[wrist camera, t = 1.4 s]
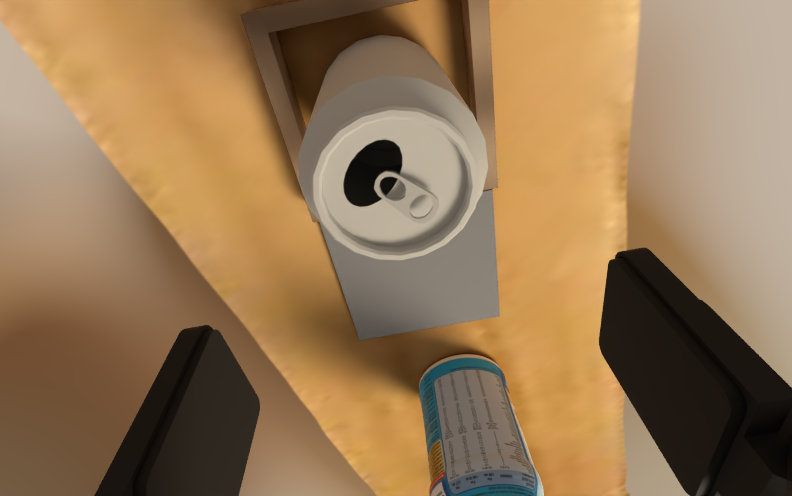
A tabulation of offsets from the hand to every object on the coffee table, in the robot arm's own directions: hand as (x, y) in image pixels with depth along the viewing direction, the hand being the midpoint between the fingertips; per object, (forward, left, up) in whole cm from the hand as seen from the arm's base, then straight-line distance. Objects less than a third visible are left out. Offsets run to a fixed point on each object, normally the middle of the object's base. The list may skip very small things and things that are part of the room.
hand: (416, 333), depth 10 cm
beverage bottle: (+27, +2, -19) cm, 32 cm away
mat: (+13, 0, -18) cm, 22 cm away
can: (0, 0, -19) cm, 19 cm away
